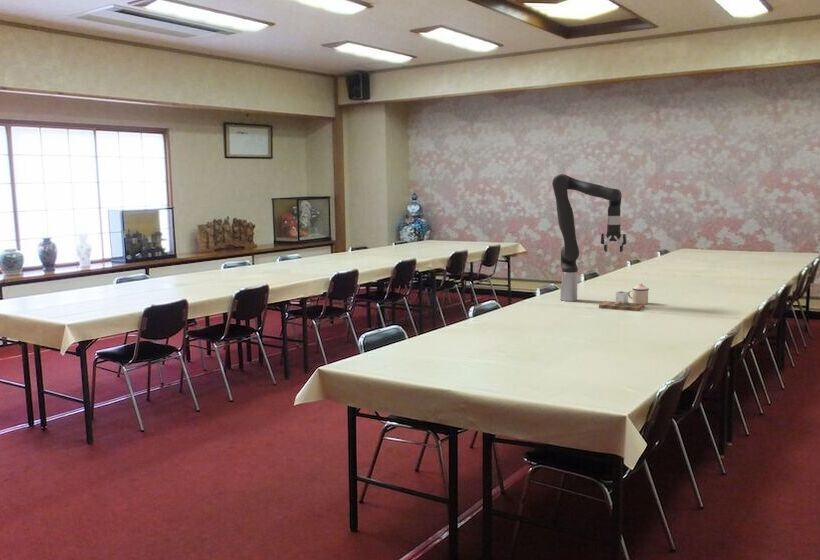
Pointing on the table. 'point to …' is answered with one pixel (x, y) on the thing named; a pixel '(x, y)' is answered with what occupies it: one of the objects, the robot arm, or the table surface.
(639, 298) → the teacup with lid
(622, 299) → the white block
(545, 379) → the table surface
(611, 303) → the walnut base
